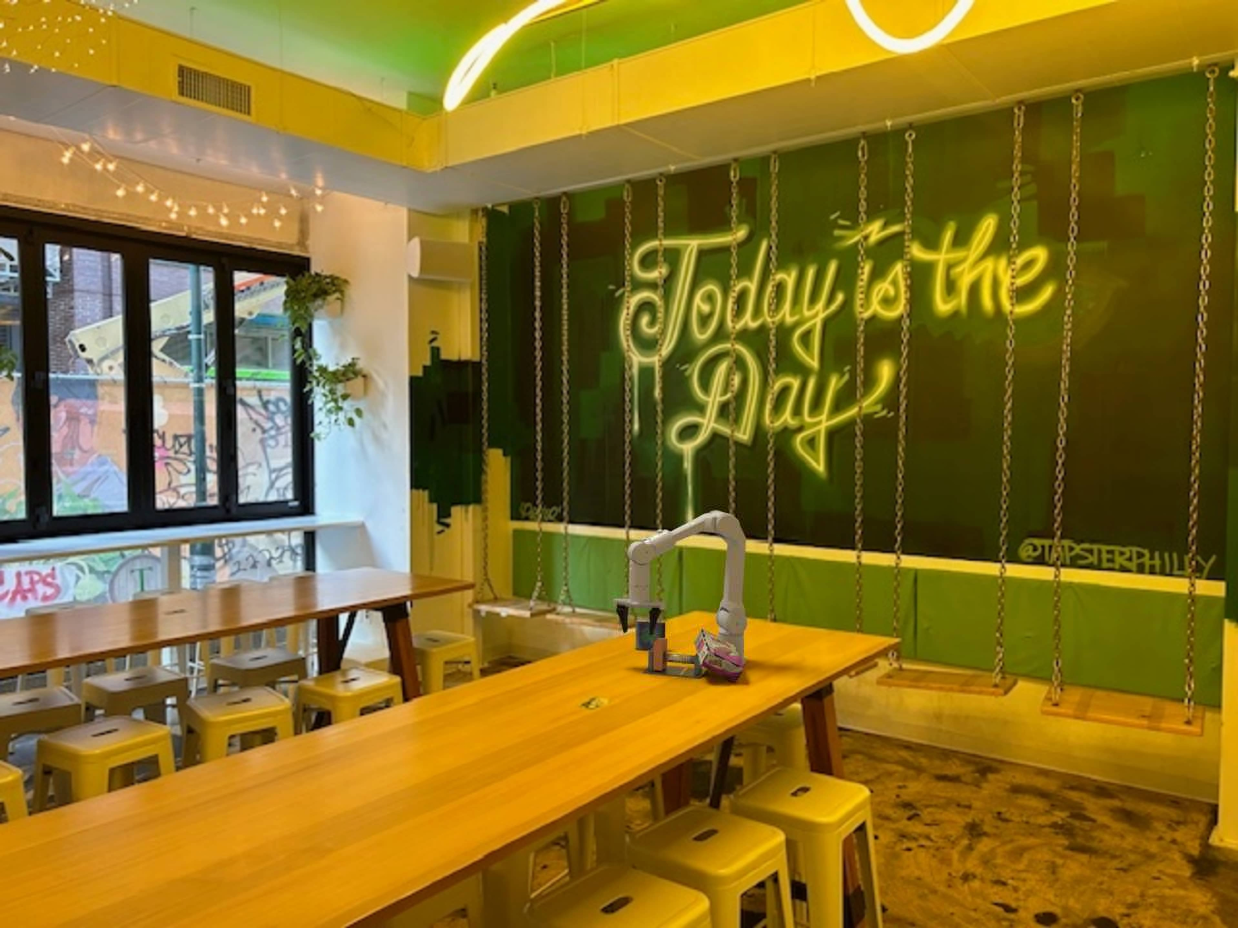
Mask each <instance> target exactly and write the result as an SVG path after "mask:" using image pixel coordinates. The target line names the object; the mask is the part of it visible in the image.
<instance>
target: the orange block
mask: <svg viewBox="0 0 1238 928" xmlns="http://www.w3.org/2000/svg"><path fill="white" fill-rule="evenodd" d="M663 653H668V638H666V637H665V638H658V639H657V640H656V641H655V642H654V654H653V670H660V671H662V670H663V669H664V668H665V667H666V666H667V665H668V662H663Z"/></svg>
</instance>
